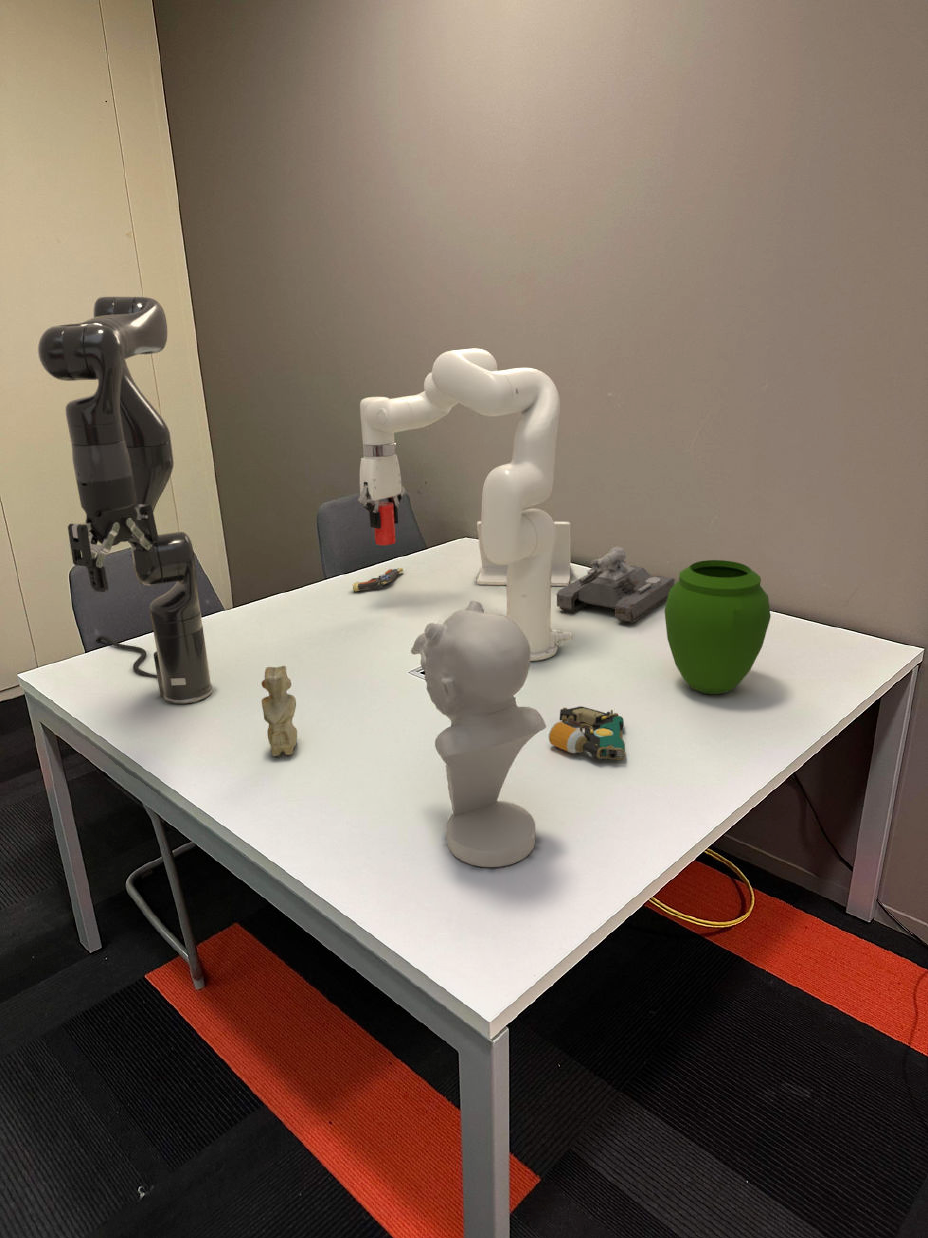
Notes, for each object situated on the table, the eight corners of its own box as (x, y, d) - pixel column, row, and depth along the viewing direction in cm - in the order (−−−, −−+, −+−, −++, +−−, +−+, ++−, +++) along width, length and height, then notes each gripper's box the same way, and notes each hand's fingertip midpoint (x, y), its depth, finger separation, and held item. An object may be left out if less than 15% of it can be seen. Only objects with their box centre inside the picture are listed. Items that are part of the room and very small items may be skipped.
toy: (603, 584, 229) (605, 530, 224) (673, 597, 218) (677, 540, 213) (555, 612, 210) (556, 553, 205) (630, 627, 199) (633, 566, 194)
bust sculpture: (481, 772, 140) (476, 569, 128) (565, 848, 120) (569, 617, 108) (392, 800, 134) (378, 588, 121) (465, 886, 114) (457, 642, 101)
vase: (773, 678, 171) (786, 561, 163) (746, 717, 156) (759, 591, 147) (679, 659, 181) (686, 549, 173) (645, 694, 166) (651, 575, 157)
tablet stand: (569, 585, 229) (570, 524, 223) (476, 584, 232) (475, 523, 226) (570, 566, 246) (571, 508, 240) (484, 564, 249) (483, 507, 243)
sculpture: (303, 738, 153) (295, 661, 148) (297, 758, 146) (289, 679, 141) (270, 740, 153) (261, 663, 148) (263, 760, 146) (253, 680, 141)
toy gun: (349, 584, 228) (385, 580, 226) (370, 567, 246) (403, 564, 244) (351, 593, 229) (387, 590, 227) (371, 576, 246) (404, 573, 244)
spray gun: (565, 715, 160) (645, 732, 154) (534, 751, 146) (620, 771, 140) (567, 694, 159) (647, 710, 153) (536, 729, 144) (623, 748, 138)
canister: (371, 544, 209) (368, 505, 206) (381, 539, 214) (378, 501, 210) (389, 545, 207) (387, 506, 204) (399, 540, 212) (396, 502, 208)
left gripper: (121, 463, 129) (139, 566, 135) (43, 482, 117) (66, 594, 123) (160, 466, 126) (176, 571, 132) (84, 485, 114) (105, 600, 120)
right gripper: (394, 444, 211) (398, 516, 217) (341, 454, 199) (347, 530, 206) (415, 446, 206) (419, 520, 213) (362, 457, 195) (368, 534, 201)
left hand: (123, 582), depth 127 cm, fingers open, 8 cm apart
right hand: (384, 524), depth 209 cm, fingers closed on canister, 5 cm apart
